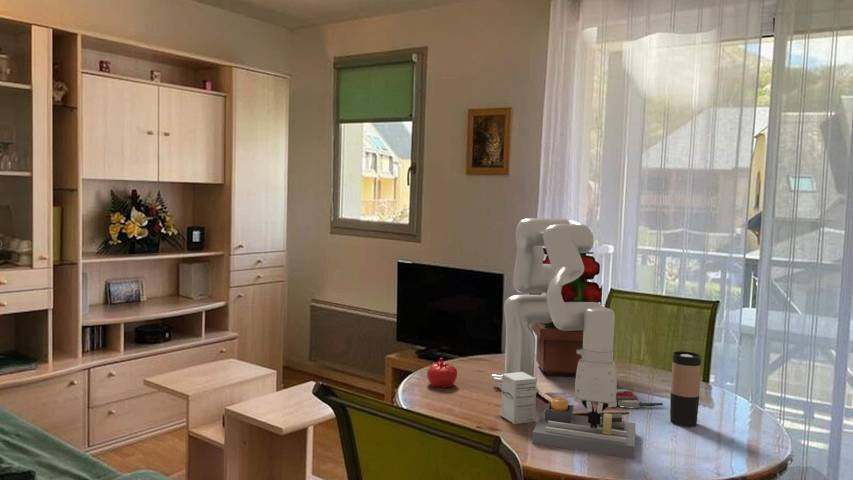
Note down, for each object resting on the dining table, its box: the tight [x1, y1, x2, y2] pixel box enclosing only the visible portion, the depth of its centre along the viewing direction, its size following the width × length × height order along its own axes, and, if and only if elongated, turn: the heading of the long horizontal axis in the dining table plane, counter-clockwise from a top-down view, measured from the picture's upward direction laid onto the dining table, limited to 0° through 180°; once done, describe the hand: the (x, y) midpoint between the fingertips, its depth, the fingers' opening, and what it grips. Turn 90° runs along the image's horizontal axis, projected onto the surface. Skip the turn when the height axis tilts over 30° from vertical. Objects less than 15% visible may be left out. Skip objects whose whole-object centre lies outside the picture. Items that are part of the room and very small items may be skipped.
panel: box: [531, 402, 636, 459], centre depth 170 cm, size 25×18×6 cm
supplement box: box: [500, 372, 538, 425], centre depth 184 cm, size 7×7×13 cm
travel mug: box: [669, 350, 702, 428], centre depth 184 cm, size 8×8×20 cm
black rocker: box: [601, 413, 623, 422], centre depth 172 cm, size 5×4×1 cm
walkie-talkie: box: [616, 388, 664, 409], centre depth 201 cm, size 9×4×20 cm
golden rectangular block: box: [603, 412, 613, 436], centre depth 164 cm, size 2×3×5 cm, turn 161°
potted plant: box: [528, 247, 603, 377], centre depth 236 cm, size 22×22×45 cm
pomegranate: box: [426, 357, 458, 388], centre depth 215 cm, size 10×10×9 cm
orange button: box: [550, 397, 569, 412], centre depth 177 cm, size 4×4×3 cm
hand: (593, 426), depth 165 cm, fingers closed
